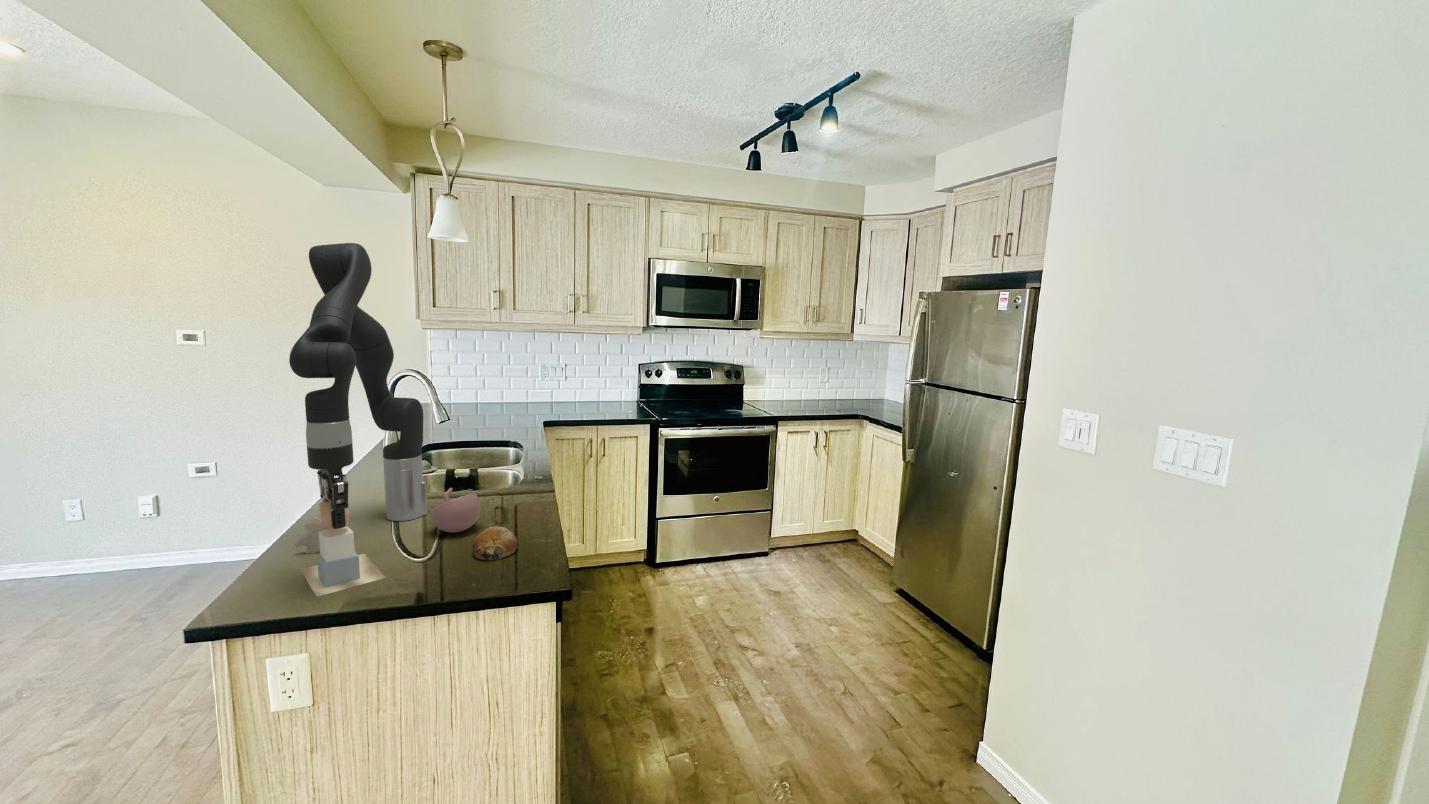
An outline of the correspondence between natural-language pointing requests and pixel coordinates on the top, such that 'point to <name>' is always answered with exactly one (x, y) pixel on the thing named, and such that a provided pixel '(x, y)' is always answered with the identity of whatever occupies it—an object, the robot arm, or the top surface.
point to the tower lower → (338, 570)
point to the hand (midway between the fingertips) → (335, 523)
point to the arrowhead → (310, 536)
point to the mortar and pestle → (456, 512)
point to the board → (366, 575)
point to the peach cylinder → (326, 515)
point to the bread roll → (494, 544)
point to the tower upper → (336, 544)
